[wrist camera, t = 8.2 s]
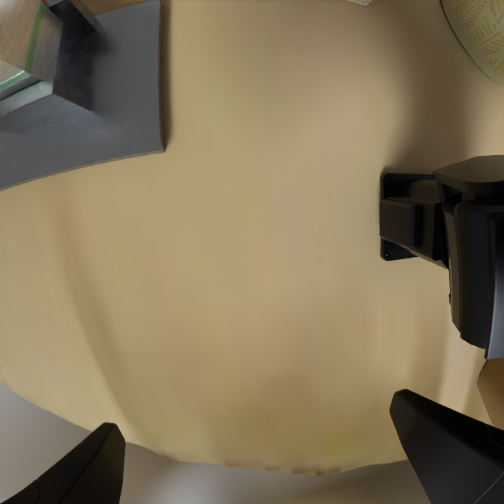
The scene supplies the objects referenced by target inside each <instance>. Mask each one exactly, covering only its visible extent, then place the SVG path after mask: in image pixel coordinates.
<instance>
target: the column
mask: <svg viewBox="0 0 504 504" xmlns="http://www.w3.org/2000/svg"><path fill="white" fill-rule="evenodd" d="M62 27H63V21H62V20H60V19H59V18H58V17H57V16H56V15H55V14H54V13H53V12H52V11H51V10H49V9H48V8H47V7H46V4H45V3H44V2H42V1H39V0H0V102H1V101H3V100H5V99H6V98H8V97H10V96H12V95H14V94H16V93H18V92H20V91H22V90H24V89H27V88H29V87H31V86H33V85H35V84H38V83H40V82H42V81H45V80H47V79H49V78H52V77H55V72H56V64H57V56H58V49H59V43H60V37H61V32H62Z"/></svg>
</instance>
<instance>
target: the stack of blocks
mask: <svg viewBox="0 0 504 504" xmlns="http://www.w3.org/2000/svg"><path fill="white" fill-rule="evenodd" d="M347 1H350V2H353V3H356V4H359V5H362V6H367V5H368V4H369V3H370V2H371V1H373V0H347Z"/></svg>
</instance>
